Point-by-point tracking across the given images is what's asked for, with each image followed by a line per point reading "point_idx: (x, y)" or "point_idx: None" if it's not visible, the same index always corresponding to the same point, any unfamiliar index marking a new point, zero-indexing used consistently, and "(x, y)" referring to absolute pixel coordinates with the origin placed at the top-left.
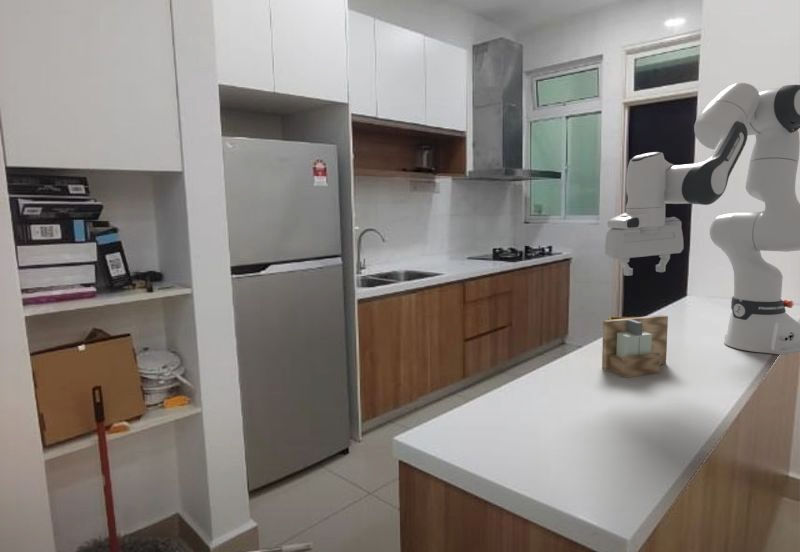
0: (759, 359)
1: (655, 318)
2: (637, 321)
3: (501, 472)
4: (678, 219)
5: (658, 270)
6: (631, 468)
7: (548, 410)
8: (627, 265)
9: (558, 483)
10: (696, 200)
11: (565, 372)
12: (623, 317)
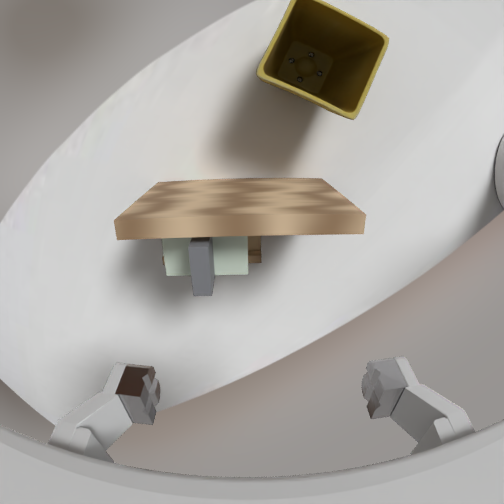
0: (476, 228)
1: (313, 233)
2: (207, 277)
3: (10, 383)
4: None
5: (371, 377)
6: None
7: (33, 319)
8: (109, 438)
9: (41, 404)
10: None
11: (78, 187)
12: (343, 15)
